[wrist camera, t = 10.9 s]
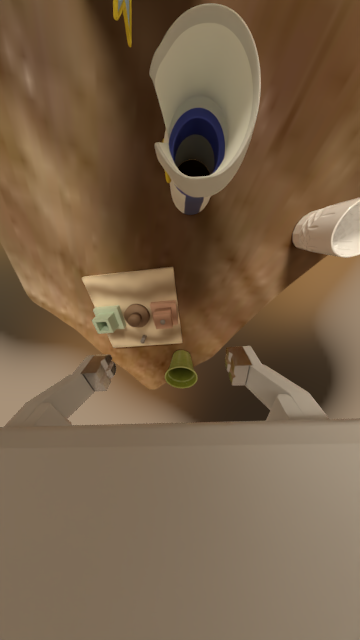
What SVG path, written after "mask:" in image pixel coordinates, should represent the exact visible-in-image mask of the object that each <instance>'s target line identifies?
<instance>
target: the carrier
mask: <svg viewBox="0 0 360 640" xmlns="http://www.w3.org/2000/svg"><path fill="white" fill-rule="evenodd" d="M82 280H83V282H84V284H85V286H86V289H87V291H88V293H89V295H90V298H91V300H92V302H93V304H94V306H95V308H96V307H104V306H115V305H119V306H120V309H121V311H122V314H123V317H124V320H125V323H126V327H125V329H116V330H115V331H114V333H107V335H108V337H109V339H110V342H111V344H112V346H113V348H118V347H133V346H147V345H162V344H176V343H182V333H181V325H180V317H179V309H178V301H177V293H176V285H175V277H174V269H173V267H166V268H157V269H148V270H139V271H129V272H120V273H111V274H102V275H93V276H85V277H82Z"/></svg>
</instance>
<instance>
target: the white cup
mask: <svg viewBox="0 0 360 640" xmlns="http://www.w3.org/2000/svg"><path fill="white" fill-rule="evenodd" d="M292 242H293V243H294V245H295V247H297V248H300V249H303V250H307V251H311V252H316V253H321V254H327V255H333V256H339V257H353V256H356V255H359V254H360V197H359V198H356V199H352V200H348V201H345V202H341V203H338V204H335V205H331V206H328V207H325V208H323V209H320V210H316V211H312V212H310V213H309V214H307V215H305V216H304V217H302V219H301V220H300V221H299V222H298V223H297V225H296V227H295V229H294V231H293V234H292Z"/></svg>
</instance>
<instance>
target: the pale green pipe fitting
mask: <svg viewBox="0 0 360 640" xmlns="http://www.w3.org/2000/svg"><path fill="white" fill-rule="evenodd" d="M93 311H94V313H95V316H96V317H95V318H94V319H92V322H93V324H94V326H95V328H96V330H97V332H98V334H102V333H114V331H115V330H116V329H125V327H126V323H125V320H124V317H123V314H122V311H121V309H120V306H119V305H115V306H104V307H96V308H95V309H93Z"/></svg>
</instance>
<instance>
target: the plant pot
mask: <svg viewBox="0 0 360 640" xmlns="http://www.w3.org/2000/svg"><path fill="white" fill-rule="evenodd" d="M165 380H166V382H167V383H168V384H169V385H171V386H173V387H176V388H188V387H191V386H192V385H194V384H195V383H196V381H197V374H196V372H195V370H194V368H193V364H192V360H191V355H190V353H189V352H186V351H184V350H178V351H176V352H175V353H174V354H173V356H172V360H171V363H170V367H169V368H168V370H167V372H166V373H165Z"/></svg>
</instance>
